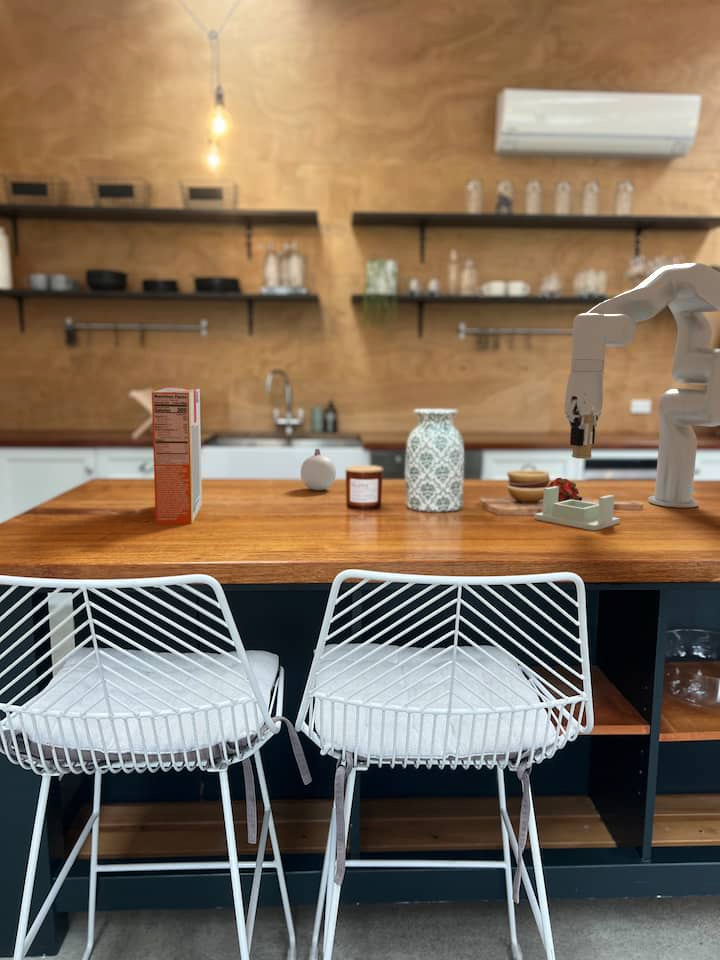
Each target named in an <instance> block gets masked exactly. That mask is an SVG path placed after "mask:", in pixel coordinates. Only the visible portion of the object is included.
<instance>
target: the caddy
mask: <svg viewBox="0 0 720 960" xmlns="http://www.w3.org/2000/svg"><path fill="white" fill-rule="evenodd" d="M558 496H559V487H556V486H554V487H549V488H547V487H545V488H543V500H542V502H543V503H542V512H537V513H534V520H538V521H543V522H548V523H549V522H550V523H554V524H558V525H563V526H564V525H565V526H570V527H574V528H579V529H585V530H588V531H589V530H590V531H593V532H594V531H597V530H601V529H602V530H603V529H605V528H607V527H612V526H614V525H618V524H620V517H614V510H615V509H614V507H615V506H614V505H615V495H614V494H613V495H612V494H608V495H603V496H600V497H599V499H598V503H596V502H595V503H594V502H590V501H583V500H582V501H578V500H572V499H571V500H566V501H562V502H558Z"/></svg>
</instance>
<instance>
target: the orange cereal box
mask: <svg viewBox="0 0 720 960" xmlns="http://www.w3.org/2000/svg"><path fill="white" fill-rule="evenodd" d="M200 393H201V391H200V388H199V387H195V388H194V387H190V388H189V387H166V388H162V389H159V390H155V391H153V392H151V407H152V408H151V412H152V414H151V415H152V418H151V419H152V442H153V443H152V449H153V475H154V476H153V478H154V480H153V482H154V509H155V511H154V513H155V514H154V515H155V516H154V517H155V525H192V523H193V522H194V520H195V519H196V516H197V514H198V512H199V510H200V508H201V507H202V505H203V494H202V492H203V489H202V444H201V443H202V440H201V439H202V438H201V432H202V431H201V399H200V398H201V394H200Z"/></svg>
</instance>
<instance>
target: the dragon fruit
mask: <svg viewBox="0 0 720 960" xmlns="http://www.w3.org/2000/svg"><path fill="white" fill-rule="evenodd" d="M554 486H556V487H559V496H558V502H562V501H566V500H571V499H572V500H578V501H583V497H582V496H580V493H579V490H578V488H577V485H576V483H575V482H573V481H571V480H568V479H567V478H562V477H556V478H555V479H554V480H553V481H551V482H550V483H548V485H547V486H546V488H547V487H548V488H549V487H554Z"/></svg>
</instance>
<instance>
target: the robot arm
mask: <svg viewBox="0 0 720 960" xmlns="http://www.w3.org/2000/svg"><path fill="white" fill-rule="evenodd" d="M667 306H668V308H669V310H670V312H671V314H672V315H673V318H674V319H675V323H676V325H677V337H676V343H675V346H674V347H675V348H674V353H673V359H672V366H671V377H672V379H673V380H674V381H675V382H676V383H680V384H686V385H697V386H698V385H701V386H703V385H705V386H706V387H707V389H698V388H697V389H696V388H672V389H669V390H668V389H667V390H666V391H665V392H664V393H662V394H661V396H660V397H659V400H658V402H657V403H658V404H657V405H658V406H657V409H658V411H657V412H658V419H659V438H658V440H659V441H658V443H659V444H658V453H657V461H656V462H657V464H656V475H655V476H656V477H655V487H654V495H651V496H648V499H647V501H648V503H650V504H653V505H656V506H660V507H661V506H662V507H668V508H678V509H679V508H681V509H684V508H685V509H687V508H695V507H697V506H698V504H699V501H698V500H697V499H694V498H693V494H695V492H696V489H695V487H694V480H695V478H694V477H695V468H696V459H697V451H698V450H697V449H698V439H697V435H696V433H695V431H694V429H693V427H692V426H698V427H718V426H720V348H714V347H713V348H711V343H712V338H713V327H712V324H711V322H710V321H709V319H708V318H707V316H706V315H705V313H712V312H713V313H714V312H715V313H717V312H718V313H719V312H720V271H718V270H716V269H715V268H713V267H712V266H709V265H707V264H704V263H700V262H692V263H681V264H680V263H679V264H670V265H666V266H661V267H660V268H659V269H657V270H655V272H653V273H652V274H651V275H649V276H648V277H646V278H645V279H644V280H643V281H642V282H640V283H639V284H638V285H636V287H634V288H633V289H631V290H628V291H626V292H622V293H621V294H619V295H616V296H614V297H611V298H609V299H607V300H604V301H603V302H600V303H598V304H597V305H595V306H594V307H592V308H591V309H590V310H588V311H587V312H585V313H580V314H577V315H576V316H575V317H574V319H573V324H572V325H573V326H572V342H571V355H570V356H571V358H570V373H569V376H568V380H567V385H566V391H565V401H564V414H565V416H566V419H568V422H569V428H570V441H569V445H570V446H573V445H575V446H583V442H584V429H582V428H583V424H584V418H585V416H588V415H590V414H591V413H592V412H591V411H594V412H593V435H592V445H594V444H595V438H596V437H595V436H596V435H595V434H596V428H597V422H598V420H599V418H600V416H601V414H602V410H603V409H602V408H603V401H604V399H603V398H604V381H603V378H604V377H603V375H604V374H605V373H604V371H605V359H606V347H624V346H626V345H629V344H630V343H631V342H632V341H633V340H634V339H635V337H636V335H637V324H636V323H640V322H644V321H646V320H650V319H652V318H654V317H655V316H656V315H658V314H659V313H661V311H663V309H665V308H666V307H667ZM593 406H594V410H591V409H592V407H593ZM576 413H579V414H580V415H576ZM578 418H580V420H578Z"/></svg>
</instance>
